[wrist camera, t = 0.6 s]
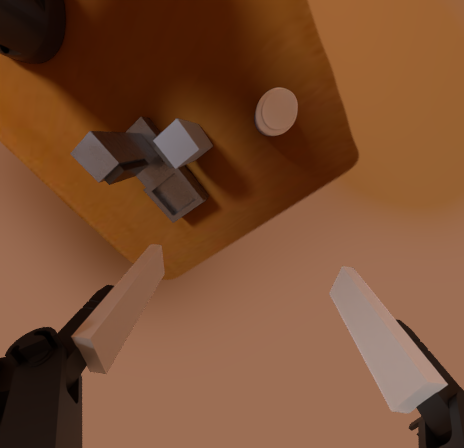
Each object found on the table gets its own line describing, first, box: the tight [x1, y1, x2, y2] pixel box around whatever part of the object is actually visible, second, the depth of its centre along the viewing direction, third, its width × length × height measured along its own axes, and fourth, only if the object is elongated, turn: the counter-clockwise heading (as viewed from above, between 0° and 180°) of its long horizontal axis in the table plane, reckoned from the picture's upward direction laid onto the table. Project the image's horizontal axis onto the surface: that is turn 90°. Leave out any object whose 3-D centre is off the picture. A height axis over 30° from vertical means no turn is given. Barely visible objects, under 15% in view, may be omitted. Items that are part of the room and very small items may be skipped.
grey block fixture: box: [71, 117, 209, 222], centre depth 27 cm, size 16×8×12 cm, turn 35°
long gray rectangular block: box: [153, 118, 213, 169], centre depth 26 cm, size 5×4×10 cm
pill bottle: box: [254, 87, 298, 136], centre depth 24 cm, size 5×5×9 cm
